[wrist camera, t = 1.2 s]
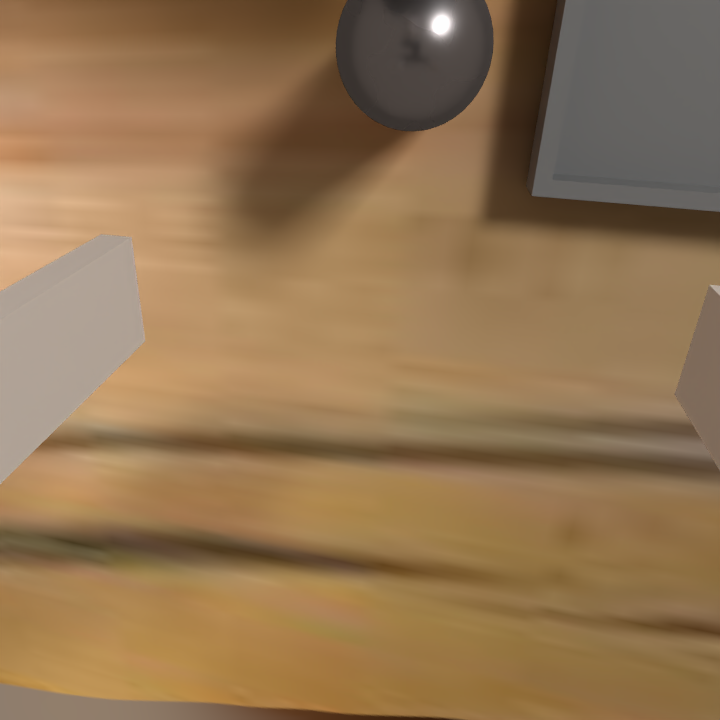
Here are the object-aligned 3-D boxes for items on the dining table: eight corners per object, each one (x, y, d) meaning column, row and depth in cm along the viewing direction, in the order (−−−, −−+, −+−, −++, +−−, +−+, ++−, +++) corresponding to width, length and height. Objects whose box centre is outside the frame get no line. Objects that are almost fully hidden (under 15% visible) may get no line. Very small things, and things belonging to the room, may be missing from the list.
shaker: (374, -15, 29) (339, -49, 20) (488, -9, 29) (505, -41, 20) (367, 106, 31) (332, 125, 22) (473, 114, 31) (481, 137, 22)
